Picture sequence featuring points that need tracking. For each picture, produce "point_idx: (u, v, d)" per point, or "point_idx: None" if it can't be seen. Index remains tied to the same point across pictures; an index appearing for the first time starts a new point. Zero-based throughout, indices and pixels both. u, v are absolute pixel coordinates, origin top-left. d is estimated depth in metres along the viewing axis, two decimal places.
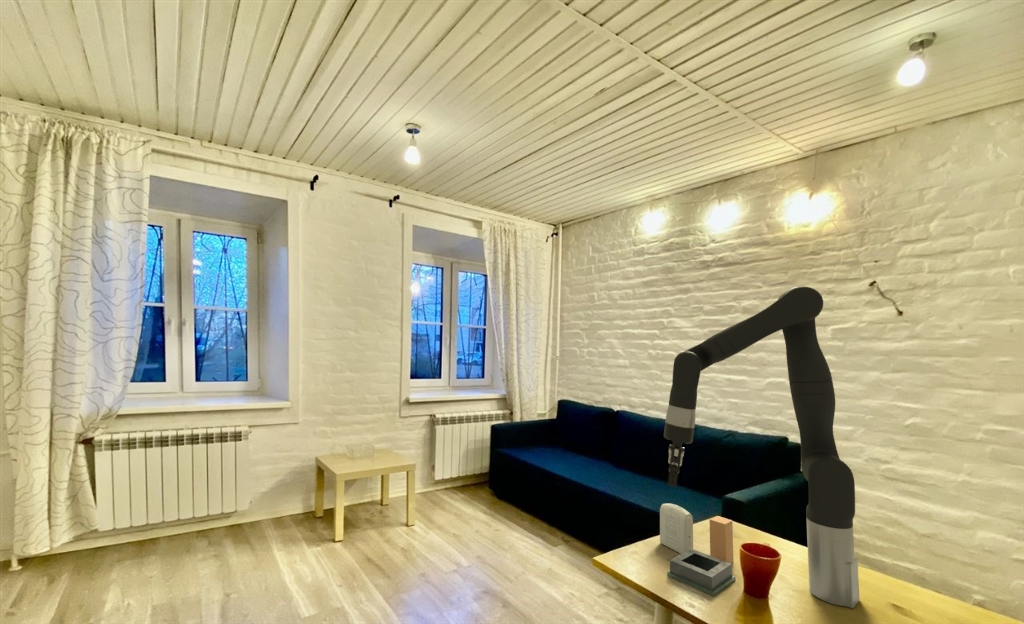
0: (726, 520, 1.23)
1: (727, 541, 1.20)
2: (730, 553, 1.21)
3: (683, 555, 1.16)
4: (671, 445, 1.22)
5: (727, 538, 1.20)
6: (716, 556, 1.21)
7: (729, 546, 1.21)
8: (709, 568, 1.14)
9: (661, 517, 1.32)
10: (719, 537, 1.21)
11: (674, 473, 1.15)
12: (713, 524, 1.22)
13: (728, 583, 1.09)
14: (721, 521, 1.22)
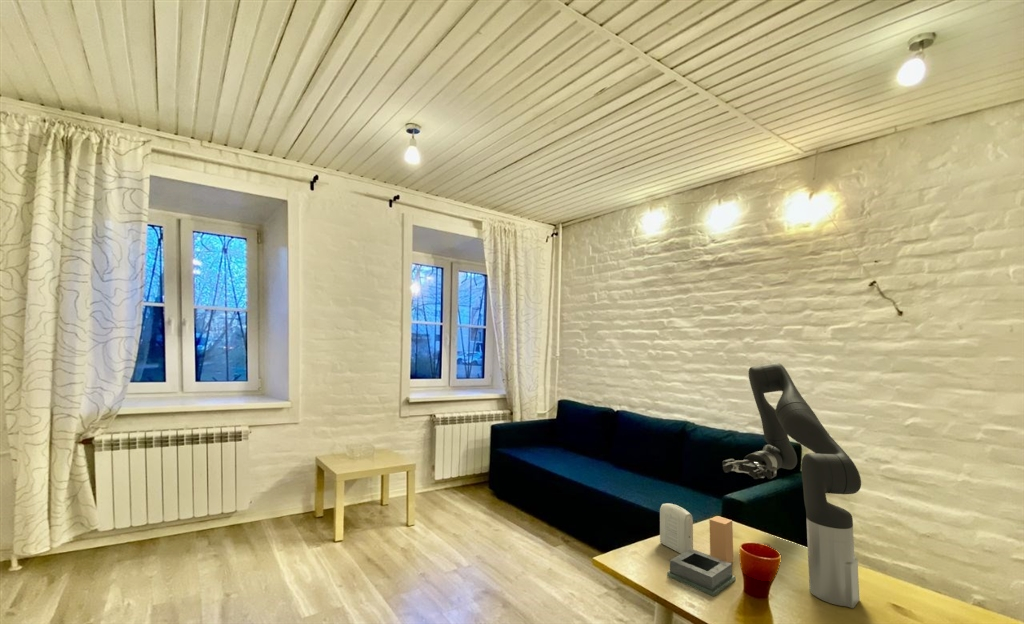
0: (726, 520, 1.23)
1: (727, 541, 1.20)
2: (730, 553, 1.21)
3: (683, 555, 1.16)
4: None
5: (727, 538, 1.20)
6: (716, 556, 1.21)
7: (729, 546, 1.21)
8: (709, 568, 1.14)
9: (661, 517, 1.32)
10: (719, 537, 1.21)
11: None
12: (713, 524, 1.22)
13: (728, 583, 1.09)
14: (721, 521, 1.22)
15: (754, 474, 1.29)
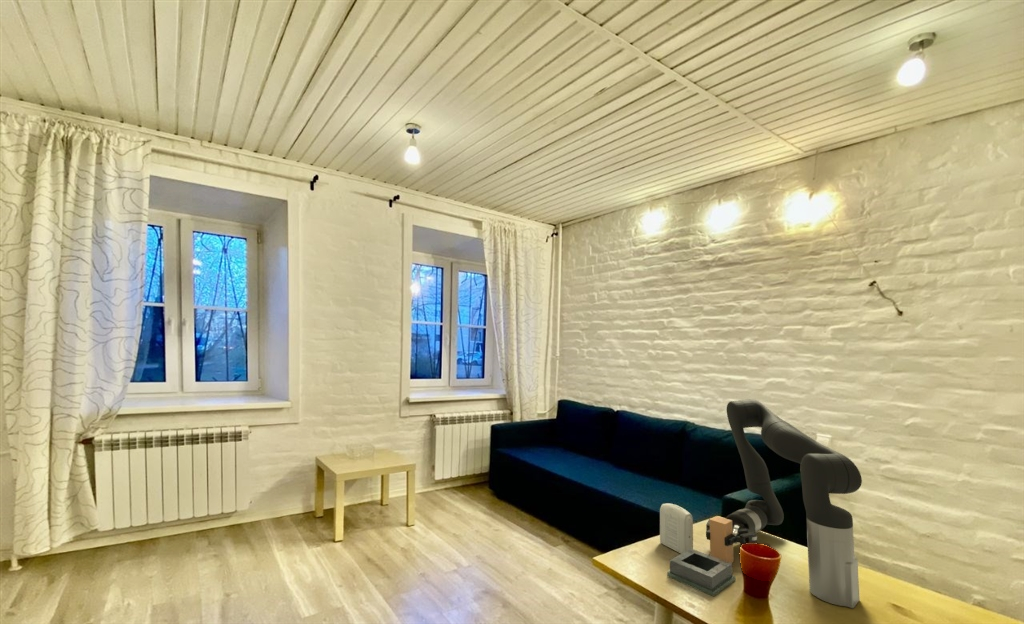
0: (726, 520, 1.23)
1: None
2: (730, 553, 1.21)
3: (683, 555, 1.16)
4: None
5: None
6: (716, 556, 1.21)
7: (729, 546, 1.21)
8: (709, 568, 1.14)
9: (661, 517, 1.32)
10: (719, 537, 1.21)
11: None
12: (713, 523, 1.22)
13: (728, 583, 1.09)
14: (721, 521, 1.22)
15: (726, 541, 1.19)
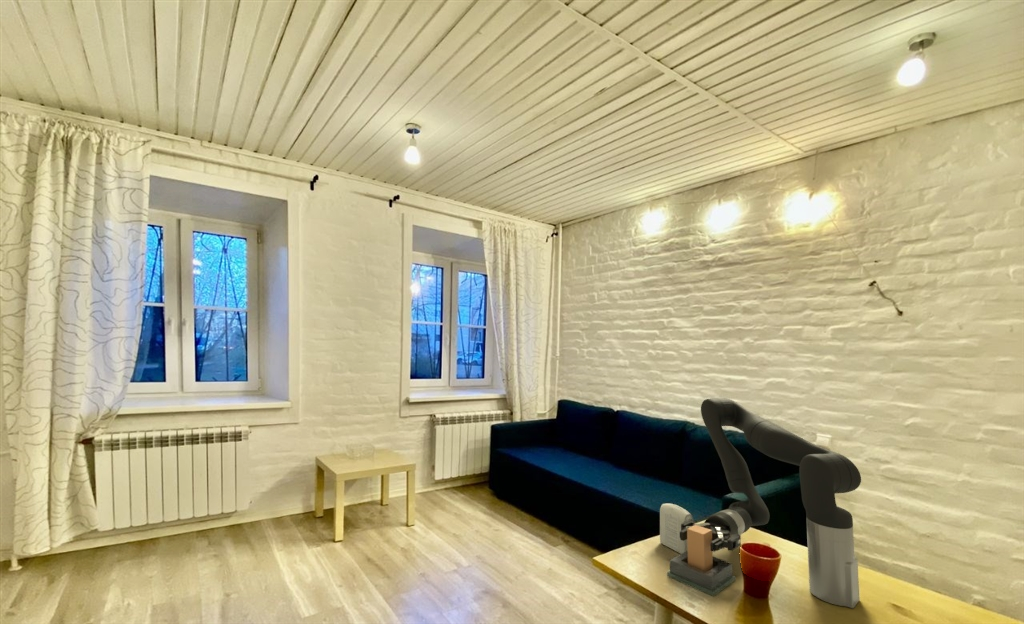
0: (705, 530, 1.13)
1: (706, 553, 1.11)
2: (709, 566, 1.11)
3: (683, 555, 1.16)
4: None
5: (706, 549, 1.11)
6: None
7: (708, 558, 1.11)
8: None
9: (661, 517, 1.32)
10: (697, 548, 1.11)
11: None
12: (691, 533, 1.13)
13: (728, 583, 1.09)
14: (699, 531, 1.12)
15: (712, 546, 1.09)
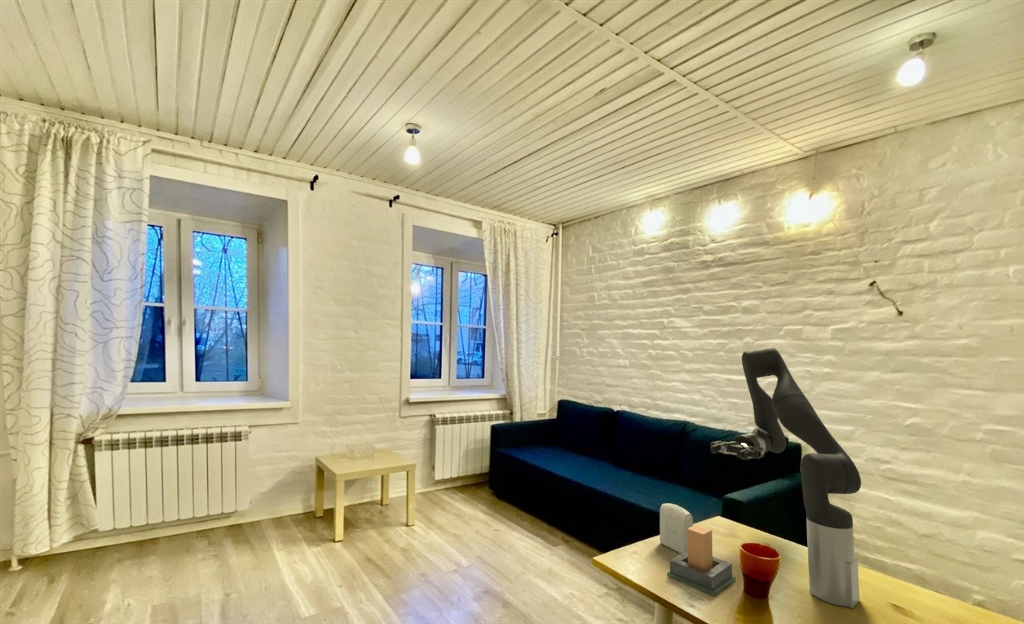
0: (705, 530, 1.13)
1: (706, 553, 1.11)
2: (709, 566, 1.11)
3: (683, 555, 1.16)
4: None
5: (706, 549, 1.11)
6: None
7: (708, 558, 1.11)
8: None
9: (661, 517, 1.32)
10: (697, 548, 1.11)
11: None
12: (691, 533, 1.13)
13: (728, 583, 1.09)
14: (699, 531, 1.12)
15: (741, 454, 1.29)
